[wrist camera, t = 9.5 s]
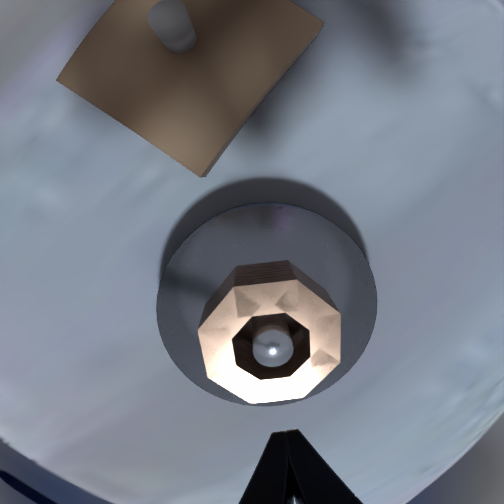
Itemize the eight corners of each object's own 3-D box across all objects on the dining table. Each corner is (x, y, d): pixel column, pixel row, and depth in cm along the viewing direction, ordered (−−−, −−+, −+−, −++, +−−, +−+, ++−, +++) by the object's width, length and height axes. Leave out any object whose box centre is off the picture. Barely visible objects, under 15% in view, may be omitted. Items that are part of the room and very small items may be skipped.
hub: (128, 326, 19) (101, 365, 14) (244, 156, 16) (242, 151, 12) (283, 416, 20) (289, 464, 16) (405, 284, 18) (442, 314, 14)
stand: (72, 87, 15) (24, 68, 10) (177, -37, 13) (159, -84, 8) (205, 176, 16) (188, 178, 12) (316, 37, 15) (339, -5, 10)
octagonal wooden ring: (218, 372, 18) (214, 405, 15) (199, 269, 16) (189, 290, 13) (327, 360, 18) (339, 391, 15) (324, 255, 16) (340, 274, 13)
